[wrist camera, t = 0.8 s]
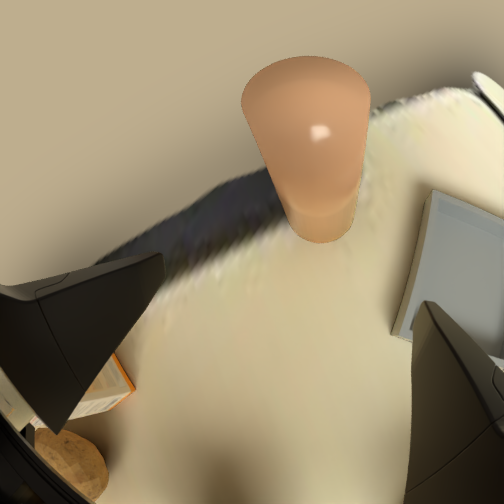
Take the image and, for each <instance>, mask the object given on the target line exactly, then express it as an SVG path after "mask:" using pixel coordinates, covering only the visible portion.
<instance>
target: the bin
mask: <svg viewBox="0 0 504 504" xmlns="http://www.w3.org/2000/svg"><path fill="white" fill-rule="evenodd" d="M424 300H427V301H434V302H436V303H437V304H438V305H439V306H440V307H441V308H442V309H443V310H444V311H445V312H446V313H447V314H448V315H449V316H450V317H451V318H452V319H453V320H454V321H455V322H456V323H457V324H458V325H459V326H460V327H461V328H462V329H463V330H464V331H465V332H466V333H467V334H468V335H469V336H470V337H471V338H472V339H473V340H474V341H475V342H476V343H477V344H478V345H479V346H480V347H481V348H482V349H483V350H484V351H485V353H486V354H487V355H488V356H489V357H490V358H491V359H492V360H493V361H494V362H495V364H496V365H497V366H498V367H499V368H500V369H504V220H503V219H501V218H499V217H497V216H495V215H493V214H491V213H489V212H487V211H484V210H482V209H480V208H478V207H475V206H473V205H471V204H469V203H466V202H464V201H462V200H459V199H457V198H454V197H452V196H449V195H447V194H444V193H442V192H439V191H437V190H434V189H433V190H432V192H431V193H430V195H429V196H428V198H427V200H426V201H425V203H424V209H423V214H422V220H421V225H420V230H419V235H418V240H417V245H416V249H415V254H414V258H413V262H412V266H411V270H410V274H409V278H408V281H407V285H406V289H405V292H404V295H403V299H402V302H401V305H400V309H399V312H398V315H397V318H396V321H395V324H394V327H393V330H392V332H391V335H392V336H395V337H398V338H401V339H404V340H407V341H410V342H413V325H414V321H415V318H416V316H417V313H418V311H419V308H420V305H421V303H422V302H423V301H424ZM496 365H495V366H496Z"/></svg>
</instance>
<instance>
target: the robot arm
mask: <svg viewBox="0 0 504 504" xmlns="http://www.w3.org/2000/svg"><path fill="white" fill-rule="evenodd" d="M165 276H166V270H165V264H164V257H163V255H162V254H161V253H159V252H154V251H151V252H147V253H143V254H139V255H135V256H131V257H127V258H123V259H119V260H115V261H111V262H107V263H103V264H99V265H95V266H91V267H88V268H84V269H80V270H76V271H72V272H70V273H65V274H61V275H57V276H54V277H49V278H46V279H41V280H37V281H32V282H28V283H24V284H19V285H14V286H5V285H1V284H0V504H96V503H95V502H93V501H92V500H91V499H89V498H88V497H87V496H85V495H84V494H83V493H82V492H80V491H79V490H78V489H77V488H75V487H74V486H73V485H72V484H71V483H70V482H68V481H67V480H66V479H65V478H64V477H63V476H62V475H60V474H59V473H58V472H57V471H56V470H55V469H54V468H53V467H52V466H51V465H50V464H49V463H48V462H47V461H46V460H45V459H44V458H43V457H42V456H41V455H40V454H39V453H38V452H37V451H36V450H35V427H34V426H33V425H32V424H31V423H30V421H31V420H32V419H33V418H34V416H36V417H37V418H38V419H39V420H40V421H41V422H43V423H44V424H45V425H46V426H47V427H48V428H49V429H50V430H51V431H52V432H53V433H54V434H55V435H58V434H59V433H60V431H61V430H62V428H63V426H64V425H65V423H66V422H67V420H68V419H69V417H70V416H71V414H72V413H73V411H74V410H75V408H76V407H77V405H78V404H79V402H80V401H81V399H82V398H83V396H84V395H85V392H86V391H87V390H88V388H89V387H90V386H91V384H92V383H93V381H94V380H95V378H96V377H97V375H98V374H99V373H100V371H101V370H102V368H103V367H104V366H105V364H106V363H107V361H108V360H109V358H110V357H111V356H112V354H113V353H114V352H115V350H116V349H117V347H118V346H119V345H120V343H121V342H122V341H123V339H124V338H125V336H126V335H127V334H128V332H129V331H130V330H131V328H132V327H133V326H134V324H135V323H136V322H137V320H138V319H139V318H140V316H141V315H142V314H143V312H144V311H145V310H146V308H147V307H148V305H149V303H150V302H151V300H152V299H153V297H154V295H155V294H156V292H157V290H158V289H159V287H160V286H161V284H162V282H163V281H164V279H165ZM495 365H496V364H495V362H494V361H493V360H492V359H491V358H490V357H489V356H488V355H487V354H486V353H485V351H484V350H483V349H482V348H481V347H480V346H479V345H478V344H477V343H476V342H475V341H474V340H473V339H472V338H471V337H470V336H469V335H468V334H467V333H466V332H465V331H464V330H463V329H462V328H461V327H460V326H459V325H458V324H457V323H456V322H455V321H454V320H453V319H452V318H451V317H450V316H449V315H448V314H447V313H446V312H445V311H444V310H443V309H442V308H441V307H440V306H439V305H438V304H437V303H436V302H434V301H427V300H424V301H423V302H422V303H421V305H420V308H419V311H418V313H417V316H416V318H415V321H414V325H413V344H412V362H411V382H412V419H411V441H410V455H409V465H408V474H407V482H406V489H405V495H404V501H403V504H504V372H503V371H502V370H501V369H500V368H499V367H498V366H497V365H496V366H495Z"/></svg>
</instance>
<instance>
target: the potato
mask: <svg viewBox="0 0 504 504" xmlns="http://www.w3.org/2000/svg"><path fill="white" fill-rule="evenodd" d="M35 450H36V451H37V452H38V453H39V454H40V455H41V456H42V457H43V458H44V459H45V460H46V461H47V462H48V463H49V464H50V465H51V466H52V467H53V468H54V469H55V470H56V471H57V472H58V473H59V474H60V475H62V476H63V477H64V478H65V479H66V480H67V481H68V482H70V483H71V484H72V485H73V486H74V487H75V488H77V489H78V490H79V491H80V492H82V493H83V494H84V495H85V496H87V497H88V498H89V499H91V500H92V501H93V502H95V501H96V500H97V499H98V498H99V496H100V495H101V494H102V493H103V491H104V490H105V489H106V487H107V484H108V479H109V473H108V470H107V468H106V465H105V462H104V458H103V457H102V455H101V454H100V452H99V451H98V449H97V448H96V446H95V445H94V444H93V443H91V442H90V441H88V440H87V439H85V438H83V437H81V436H79V435H77V434H75V433H73V432H70V431H67V430H63V429H62V430H61V431H60V433H59V434H58V435H55V434H54V433H53V432H52V431H51V430H50V429H49V428H38V429H37V430H36V431H35Z"/></svg>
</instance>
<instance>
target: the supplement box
mask: <svg viewBox="0 0 504 504" xmlns="http://www.w3.org/2000/svg"><path fill="white" fill-rule="evenodd" d="M134 391H135V388H134V386H133V385H132V383H131V382H130V380H129V378H128V377H127V375H126V373H125V372H124V370H123V368H122V366H121V365H120V363H119V361H118V359H117V358H116V356H115V354H114V353H113V354H112V356H111V357H110V358H109V360H108V361H107V363H106V364H105V366H104V367H103V368H102V370H101V371H100V373H99V374H98V375H97V377H96V378H95V380H94V381H93V383H92V384H91V386H90V387H89V388H88V390H87V391H86V392H85V395H84V396H83V398H82V399H81V401H80V402H79V404H78V405H77V407H76V408H75V410H74V411H73V413H72V414H71V416H70V417H69V419H68V420H70V419H75V418H79V417H84V416H88V415H92V414H96V413H101V412H105V411H108V410H111V409H112V408H114V407H115V406H116V405H117V404H118V403H120V402H121V401H122V400H123V399H125V398H126V397H127V396H129V395H130V394H131V393H132V392H134ZM30 423H31V424H32V425H33V426H39V425H44V423H43V422H41V421H40V420H39V419H38V418H37V417H36V416H34V418H33V419H32V420H31V421H30Z"/></svg>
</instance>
